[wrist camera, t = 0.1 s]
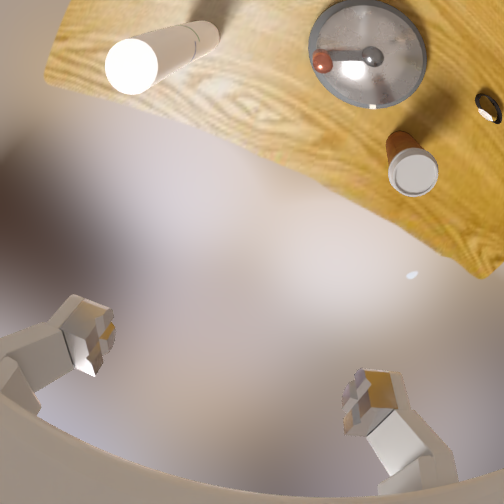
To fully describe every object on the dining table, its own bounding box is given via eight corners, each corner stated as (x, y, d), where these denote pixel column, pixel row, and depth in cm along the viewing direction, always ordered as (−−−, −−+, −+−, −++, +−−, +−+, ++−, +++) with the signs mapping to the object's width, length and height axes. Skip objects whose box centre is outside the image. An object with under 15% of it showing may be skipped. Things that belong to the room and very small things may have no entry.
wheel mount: (380, -19, 30) (383, -20, 28) (441, 78, 40) (445, 81, 38) (283, 35, 42) (282, 36, 40) (351, 123, 52) (353, 127, 50)
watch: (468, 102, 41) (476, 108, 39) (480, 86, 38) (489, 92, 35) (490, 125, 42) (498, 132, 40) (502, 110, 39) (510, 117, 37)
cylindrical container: (183, 55, 47) (109, 96, 30) (181, 21, 41) (101, 44, 25) (219, 54, 46) (160, 92, 29) (219, 19, 41) (155, 34, 24)
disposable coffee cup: (425, 159, 53) (443, 192, 45) (384, 169, 57) (395, 204, 49) (415, 118, 47) (435, 146, 39) (372, 130, 52) (383, 160, 44)
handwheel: (417, 10, 30) (438, 12, 24) (420, 105, 43) (438, 125, 37) (304, 6, 35) (303, 5, 29) (318, 103, 48) (319, 122, 42)
